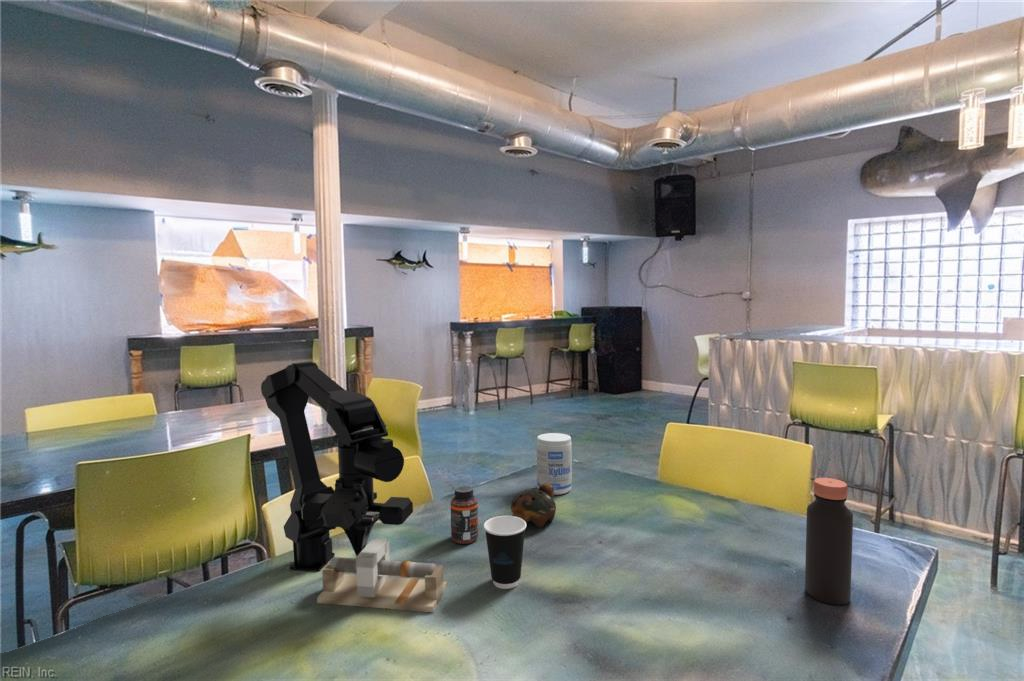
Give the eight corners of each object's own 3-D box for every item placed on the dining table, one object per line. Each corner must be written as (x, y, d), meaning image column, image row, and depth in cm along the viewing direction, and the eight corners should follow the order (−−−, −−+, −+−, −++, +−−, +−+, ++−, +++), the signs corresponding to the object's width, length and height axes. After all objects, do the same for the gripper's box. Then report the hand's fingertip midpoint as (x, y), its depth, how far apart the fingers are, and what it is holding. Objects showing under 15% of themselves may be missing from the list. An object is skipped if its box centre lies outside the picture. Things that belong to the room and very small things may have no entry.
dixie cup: (515, 566, 102) (514, 512, 101) (535, 586, 95) (534, 528, 94) (478, 577, 98) (476, 520, 97) (495, 598, 91) (494, 537, 90)
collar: (357, 596, 90) (356, 557, 89) (374, 574, 97) (373, 538, 96) (374, 597, 89) (372, 558, 89) (390, 576, 96) (388, 539, 96)
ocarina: (566, 514, 126) (567, 483, 125) (535, 544, 113) (535, 509, 112) (532, 505, 131) (531, 475, 130) (498, 532, 118) (498, 499, 117)
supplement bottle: (474, 546, 111) (473, 494, 110) (447, 544, 112) (446, 492, 111) (481, 533, 116) (480, 484, 116) (456, 532, 118) (454, 483, 117)
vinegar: (835, 610, 86) (838, 492, 84) (796, 590, 92) (798, 479, 90) (859, 599, 89) (862, 484, 87) (820, 580, 95) (822, 473, 93)
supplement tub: (552, 498, 136) (551, 443, 135) (529, 488, 144) (529, 436, 143) (579, 490, 142) (578, 437, 141) (556, 481, 149) (556, 430, 148)
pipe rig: (317, 602, 91) (315, 568, 90) (339, 578, 99) (338, 546, 98) (433, 612, 87) (432, 576, 87) (446, 586, 95) (445, 553, 95)
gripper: (280, 483, 86) (285, 574, 87) (387, 488, 82) (391, 582, 84) (316, 462, 97) (320, 543, 98) (412, 465, 93) (415, 550, 94)
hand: (359, 554), depth 93 cm, fingers closed
